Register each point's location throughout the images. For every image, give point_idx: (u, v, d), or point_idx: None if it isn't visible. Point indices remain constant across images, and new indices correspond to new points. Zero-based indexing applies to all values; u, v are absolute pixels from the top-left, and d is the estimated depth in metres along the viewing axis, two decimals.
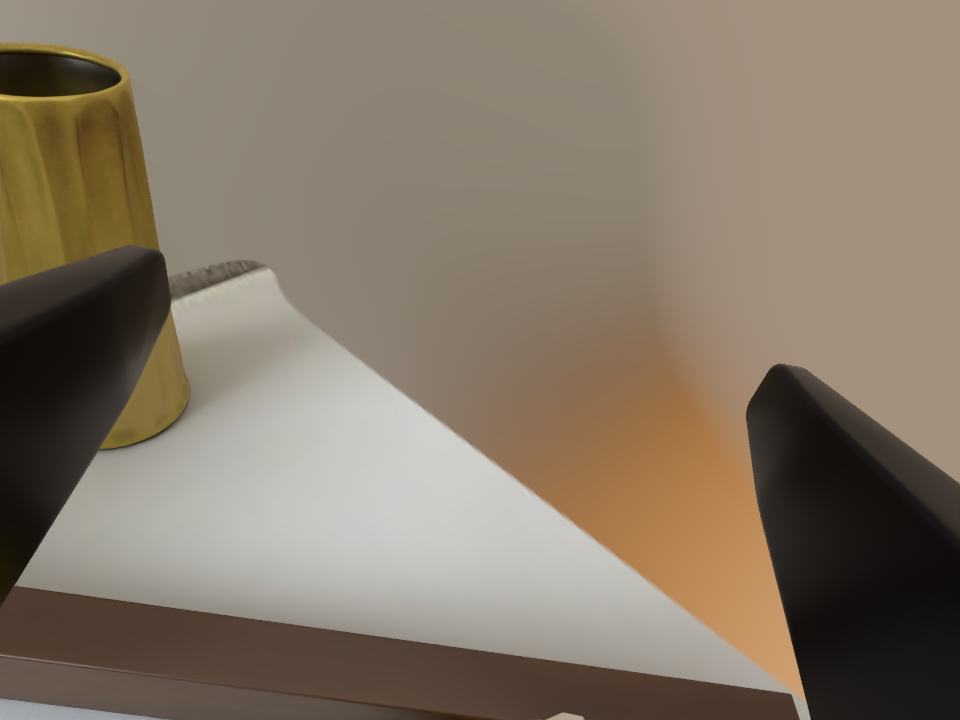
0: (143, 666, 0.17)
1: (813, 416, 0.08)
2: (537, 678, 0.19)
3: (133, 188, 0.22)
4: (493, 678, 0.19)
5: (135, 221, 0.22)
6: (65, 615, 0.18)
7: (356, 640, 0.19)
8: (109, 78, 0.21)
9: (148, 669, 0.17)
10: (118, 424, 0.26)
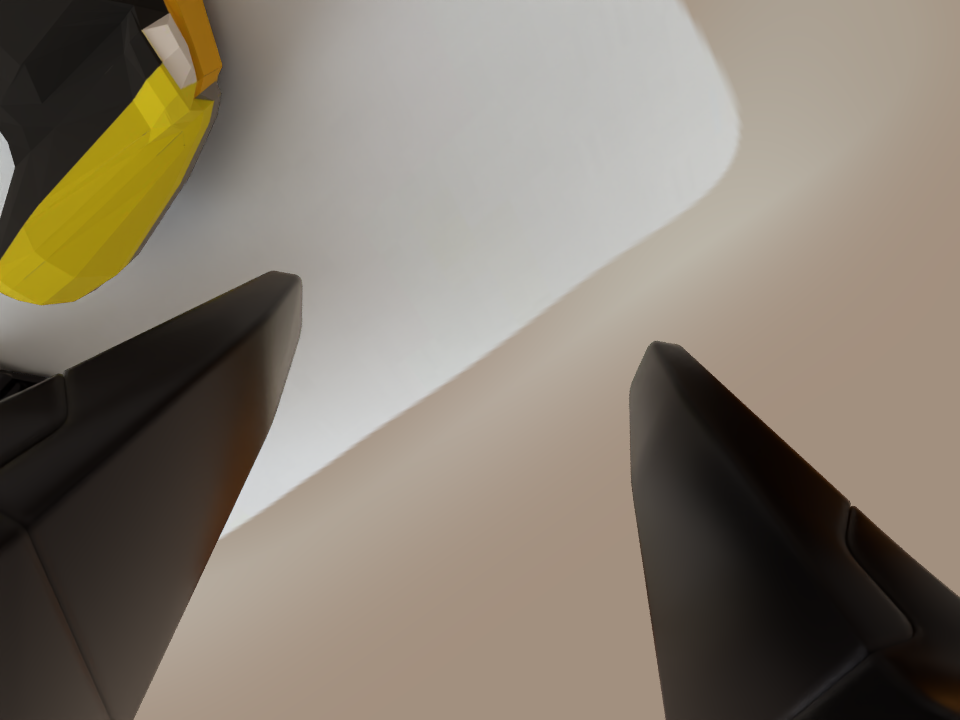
0: None
1: (672, 391, 0.08)
2: None
3: None
4: None
5: None
6: None
7: None
8: None
9: None
10: None
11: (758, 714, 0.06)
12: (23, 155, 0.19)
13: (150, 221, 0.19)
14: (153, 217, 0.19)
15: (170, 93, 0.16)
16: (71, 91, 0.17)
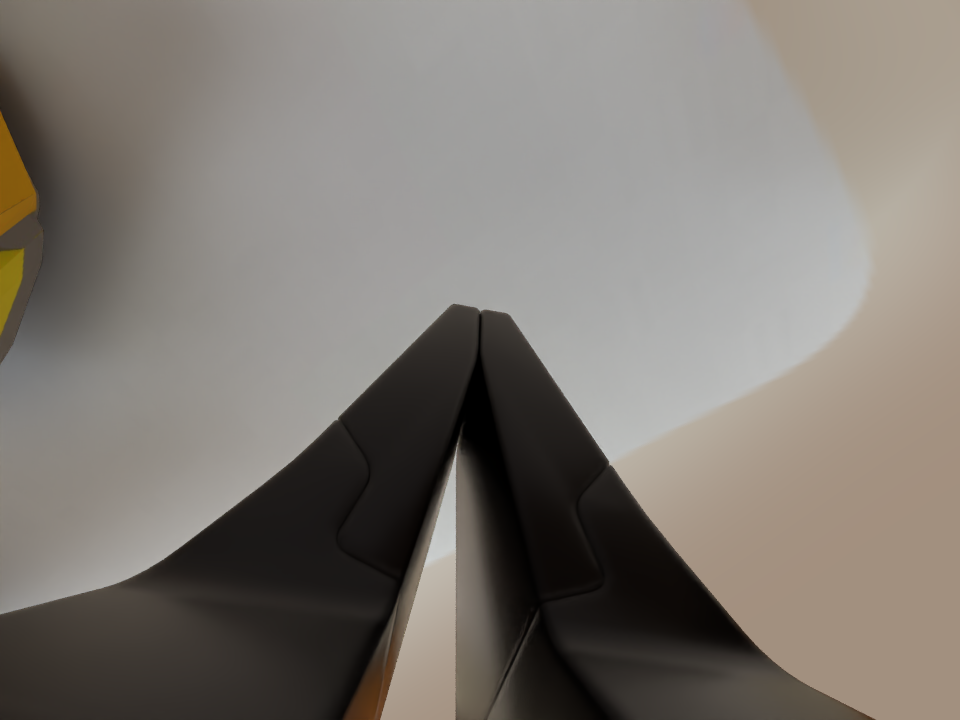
0: None
1: (478, 357, 0.08)
2: None
3: None
4: None
5: None
6: None
7: None
8: None
9: None
10: None
11: (492, 678, 0.06)
12: None
13: None
14: None
15: None
16: None
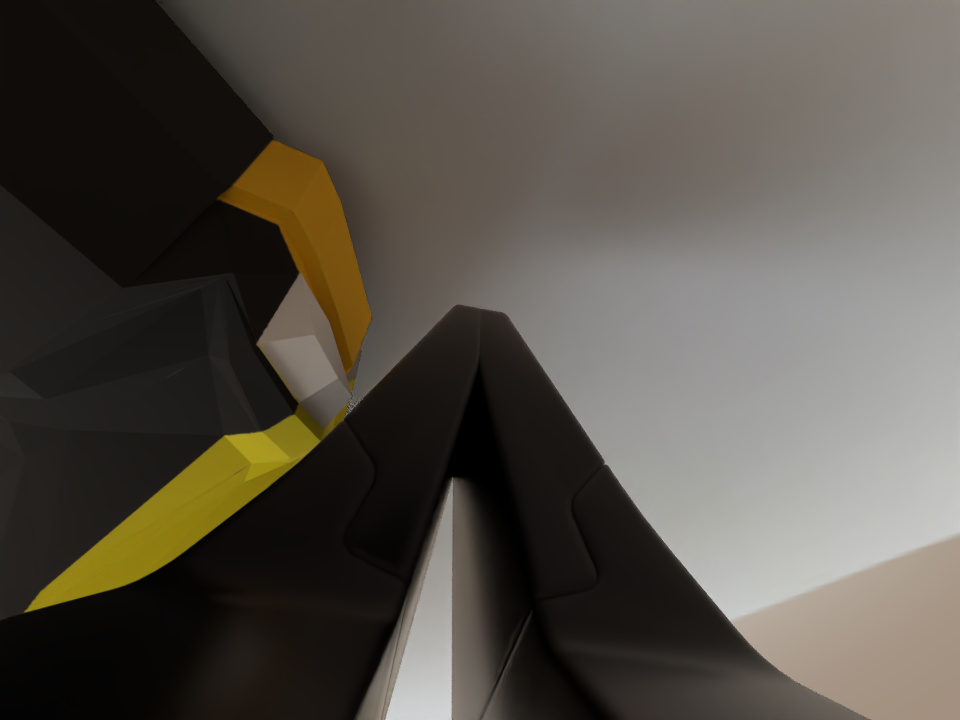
0: None
1: None
2: None
3: None
4: None
5: None
6: None
7: None
8: None
9: None
10: None
11: (487, 677, 0.06)
12: (12, 462, 0.11)
13: None
14: None
15: (306, 442, 0.08)
16: (100, 390, 0.09)
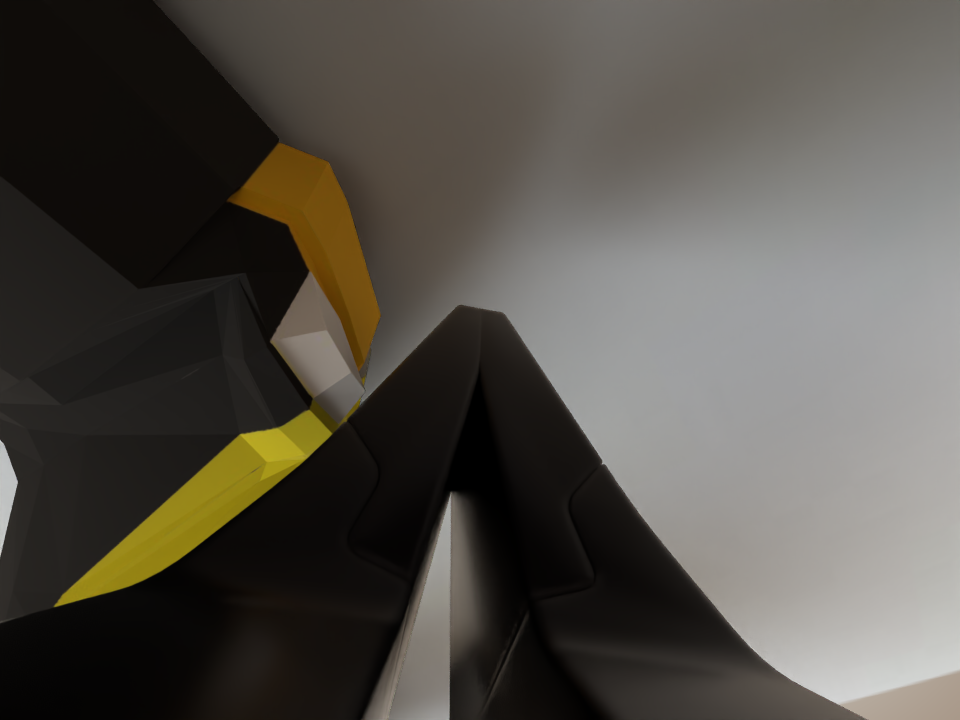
0: None
1: None
2: None
3: None
4: None
5: None
6: None
7: None
8: None
9: None
10: None
11: (485, 676, 0.06)
12: (31, 469, 0.11)
13: None
14: None
15: (321, 437, 0.08)
16: (116, 394, 0.09)
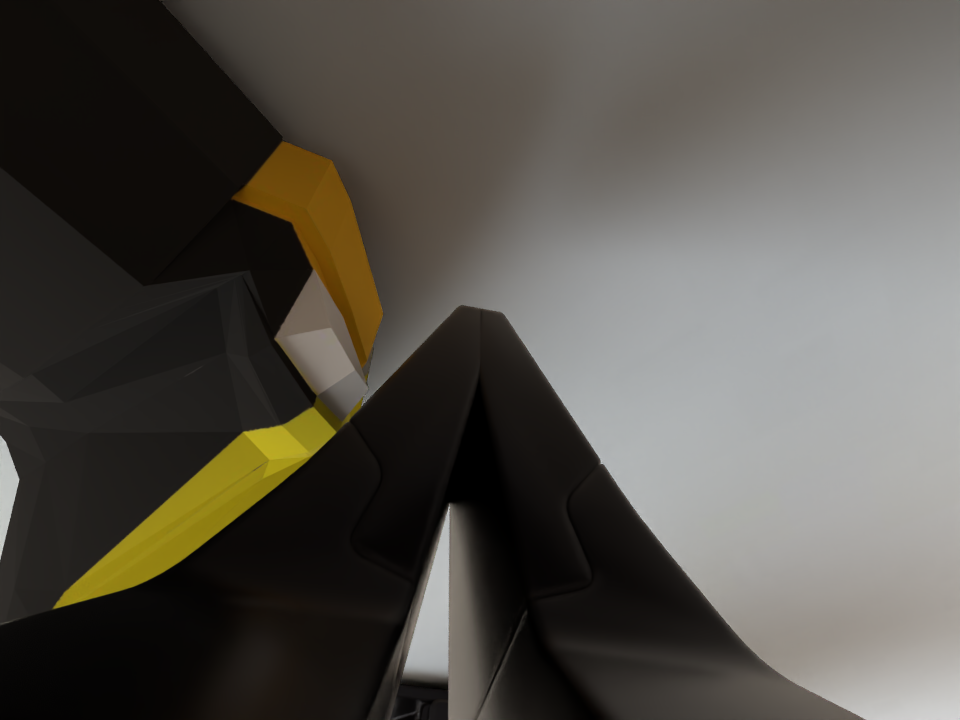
0: None
1: None
2: None
3: None
4: None
5: None
6: None
7: None
8: None
9: None
10: None
11: (483, 676, 0.06)
12: (33, 467, 0.11)
13: None
14: None
15: (324, 435, 0.08)
16: (119, 392, 0.09)
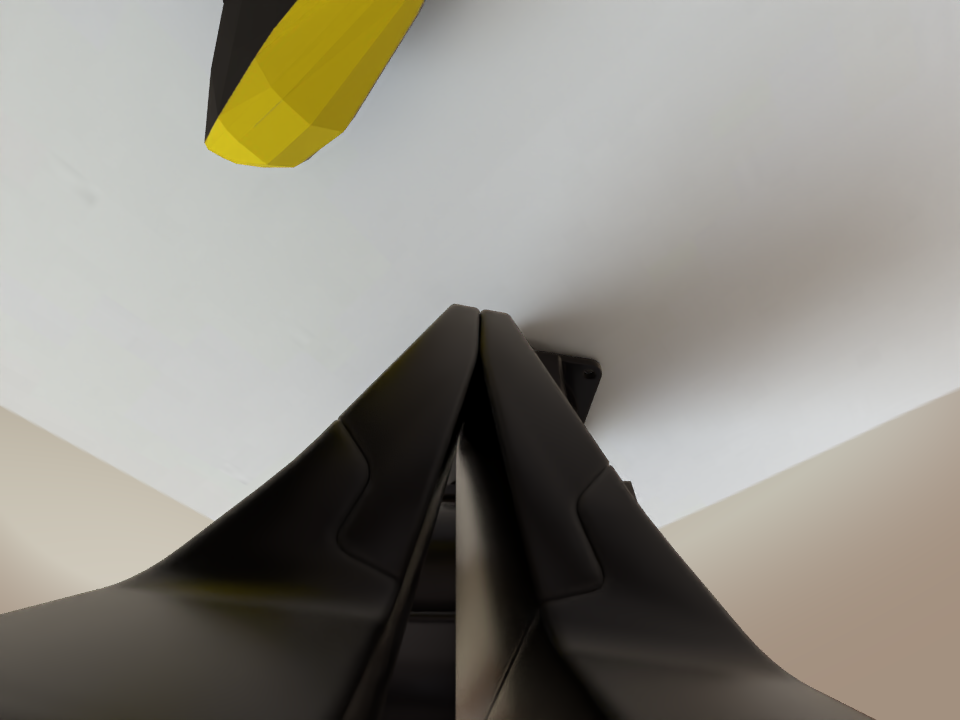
0: None
1: (477, 356, 0.08)
2: None
3: None
4: None
5: None
6: None
7: None
8: None
9: None
10: None
11: (492, 677, 0.06)
12: None
13: (387, 60, 0.16)
14: (390, 55, 0.16)
15: None
16: None
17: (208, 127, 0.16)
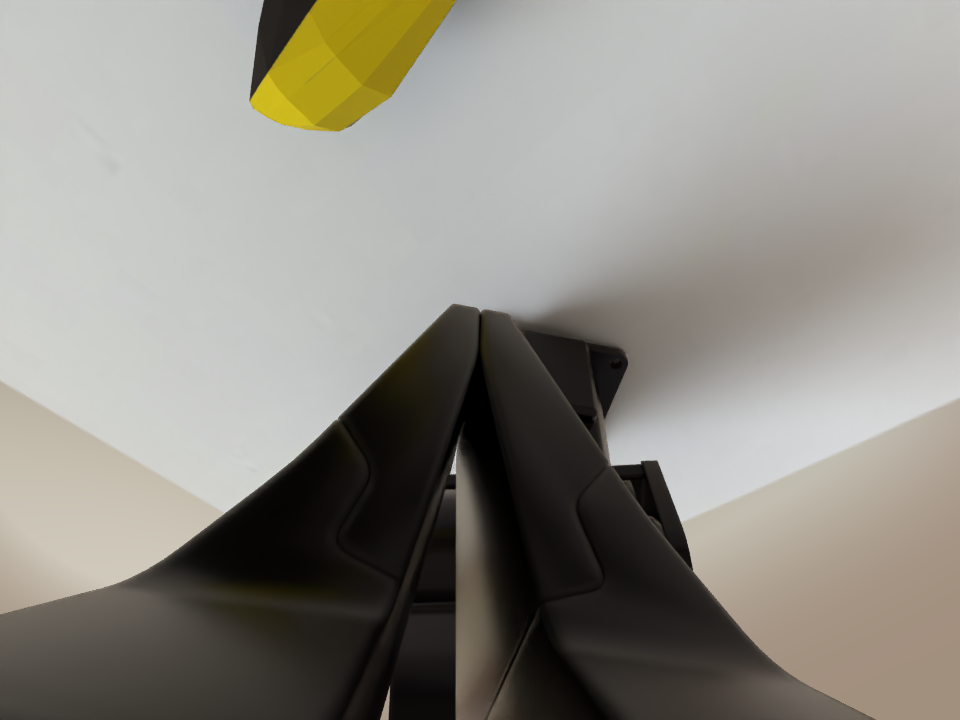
0: None
1: (477, 357, 0.08)
2: None
3: None
4: None
5: None
6: None
7: None
8: None
9: None
10: None
11: (492, 678, 0.06)
12: None
13: (439, 23, 0.16)
14: (443, 18, 0.16)
15: None
16: None
17: (254, 84, 0.15)
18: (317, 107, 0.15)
